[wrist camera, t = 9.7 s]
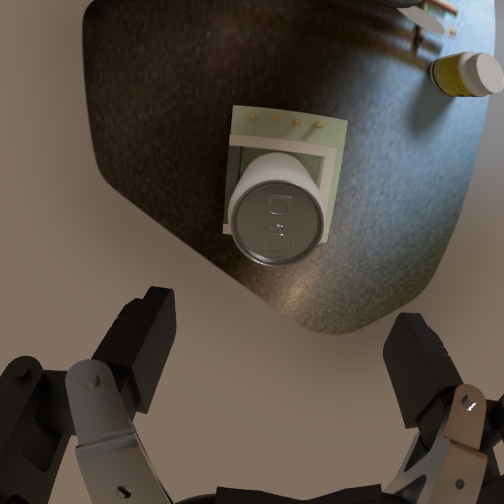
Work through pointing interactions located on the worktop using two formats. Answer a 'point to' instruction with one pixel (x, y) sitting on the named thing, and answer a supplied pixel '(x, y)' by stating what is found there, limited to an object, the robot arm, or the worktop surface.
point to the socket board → (287, 148)
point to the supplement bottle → (467, 75)
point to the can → (276, 211)
